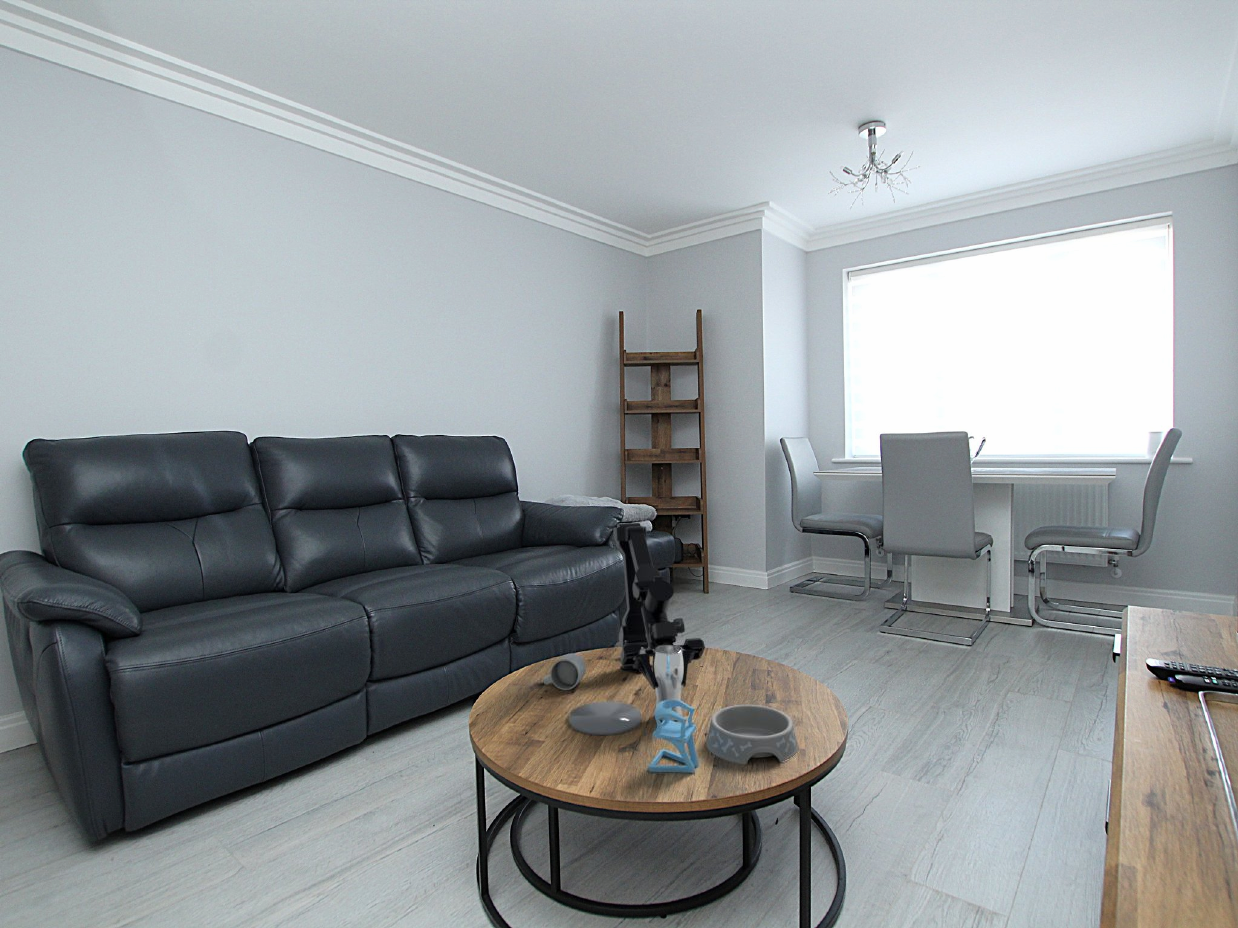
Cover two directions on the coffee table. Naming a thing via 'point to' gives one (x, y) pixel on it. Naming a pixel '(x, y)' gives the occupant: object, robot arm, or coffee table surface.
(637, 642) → the robot arm
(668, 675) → the chrome tumbler cup
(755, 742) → the dog bowl
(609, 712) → the coaster board
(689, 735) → the chair
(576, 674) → the ceramic mug
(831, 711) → the coffee table surface
